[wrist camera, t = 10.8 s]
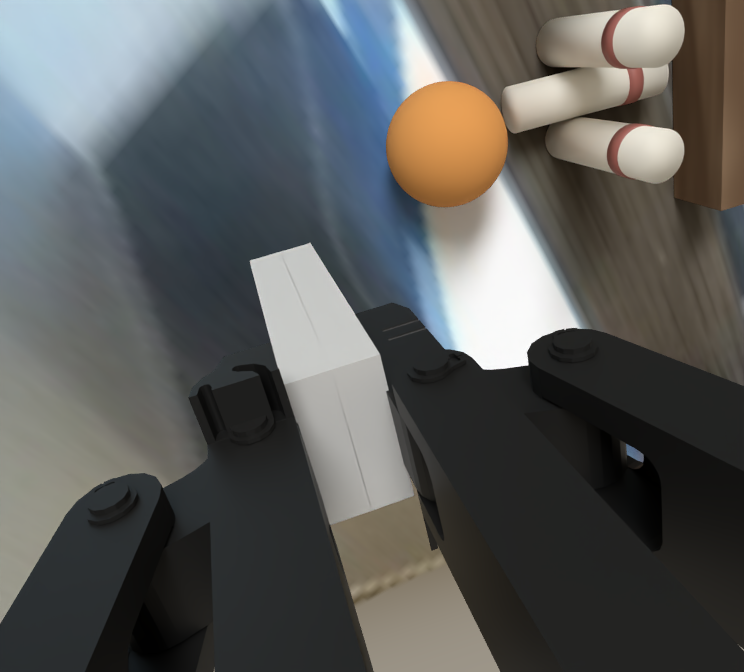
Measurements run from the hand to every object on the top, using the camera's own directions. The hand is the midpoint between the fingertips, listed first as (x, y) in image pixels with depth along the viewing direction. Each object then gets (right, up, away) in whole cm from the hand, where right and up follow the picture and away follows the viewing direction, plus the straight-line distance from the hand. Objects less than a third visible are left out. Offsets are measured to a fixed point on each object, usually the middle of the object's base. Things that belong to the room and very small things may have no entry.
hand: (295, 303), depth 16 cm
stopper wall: (+20, +15, +21) cm, 32 cm away
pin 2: (+13, +11, +21) cm, 27 cm away
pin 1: (+12, +15, +19) cm, 27 cm away
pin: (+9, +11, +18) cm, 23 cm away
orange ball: (+6, +9, +16) cm, 19 cm away
